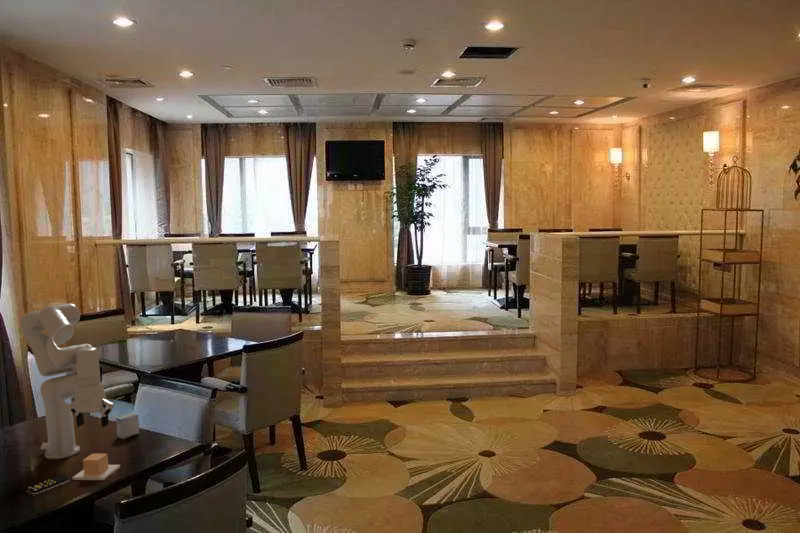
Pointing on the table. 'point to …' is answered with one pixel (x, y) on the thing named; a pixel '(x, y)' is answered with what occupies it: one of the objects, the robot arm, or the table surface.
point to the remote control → (48, 484)
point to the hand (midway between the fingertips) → (92, 425)
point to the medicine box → (127, 425)
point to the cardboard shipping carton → (95, 464)
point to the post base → (96, 477)
